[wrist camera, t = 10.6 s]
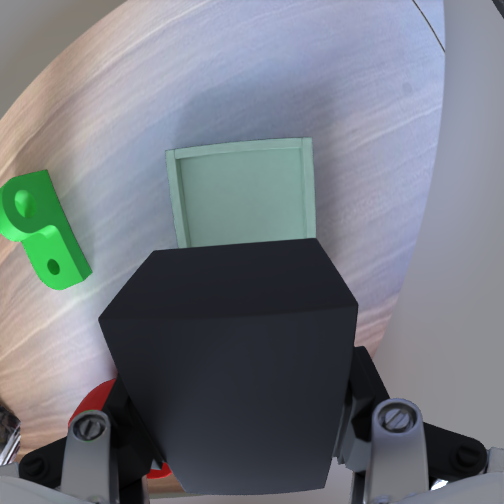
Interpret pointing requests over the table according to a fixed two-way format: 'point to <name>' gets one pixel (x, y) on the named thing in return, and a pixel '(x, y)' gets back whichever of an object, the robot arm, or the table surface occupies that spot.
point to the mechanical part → (42, 230)
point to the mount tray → (242, 192)
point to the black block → (237, 362)
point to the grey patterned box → (8, 436)
